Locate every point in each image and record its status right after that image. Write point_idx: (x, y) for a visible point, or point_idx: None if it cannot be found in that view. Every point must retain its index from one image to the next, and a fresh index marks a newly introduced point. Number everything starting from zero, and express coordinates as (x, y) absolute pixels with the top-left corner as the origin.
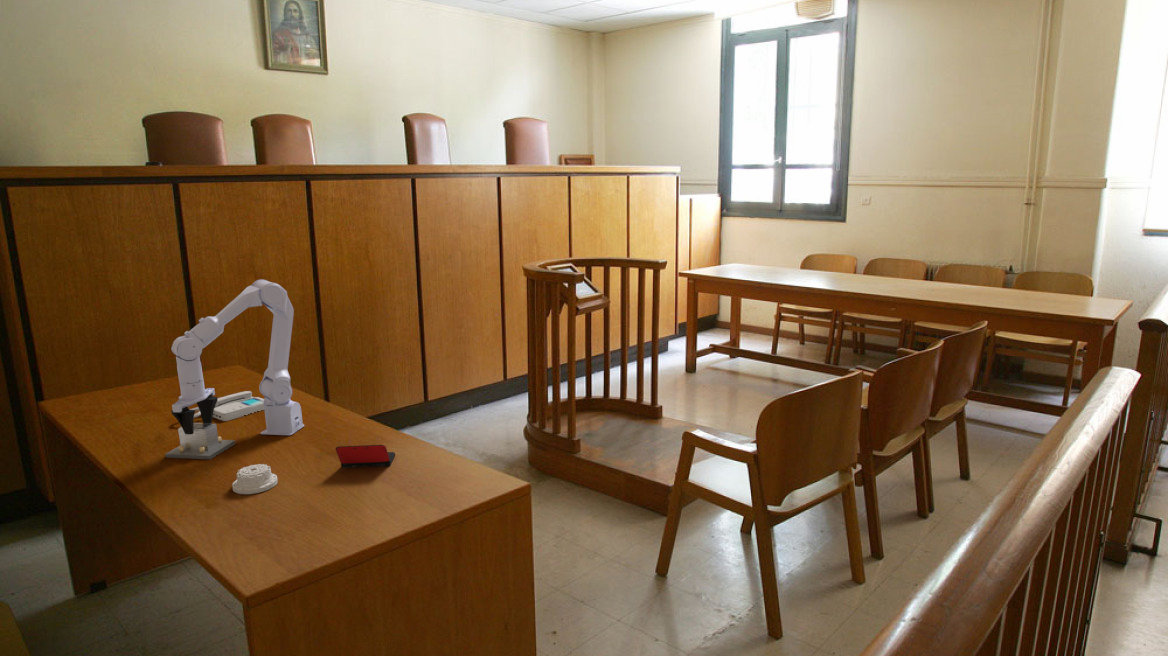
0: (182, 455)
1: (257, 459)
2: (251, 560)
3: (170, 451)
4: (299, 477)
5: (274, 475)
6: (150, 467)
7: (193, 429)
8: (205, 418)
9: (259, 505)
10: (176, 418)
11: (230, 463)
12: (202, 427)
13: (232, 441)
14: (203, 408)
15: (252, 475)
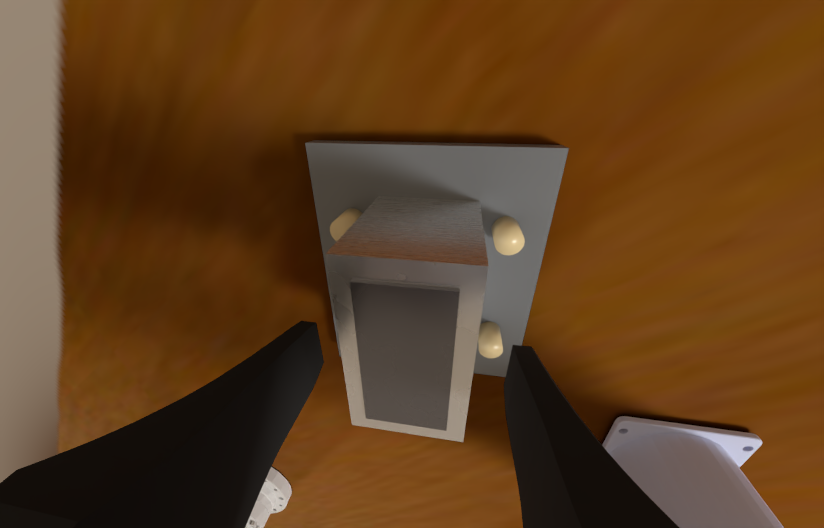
0: (323, 243)
1: (376, 453)
2: None
3: (341, 150)
4: (309, 522)
5: (278, 509)
6: (199, 150)
7: (307, 392)
8: (518, 400)
9: None
10: (137, 425)
11: (333, 407)
12: (374, 408)
13: (499, 373)
14: (545, 511)
15: None
